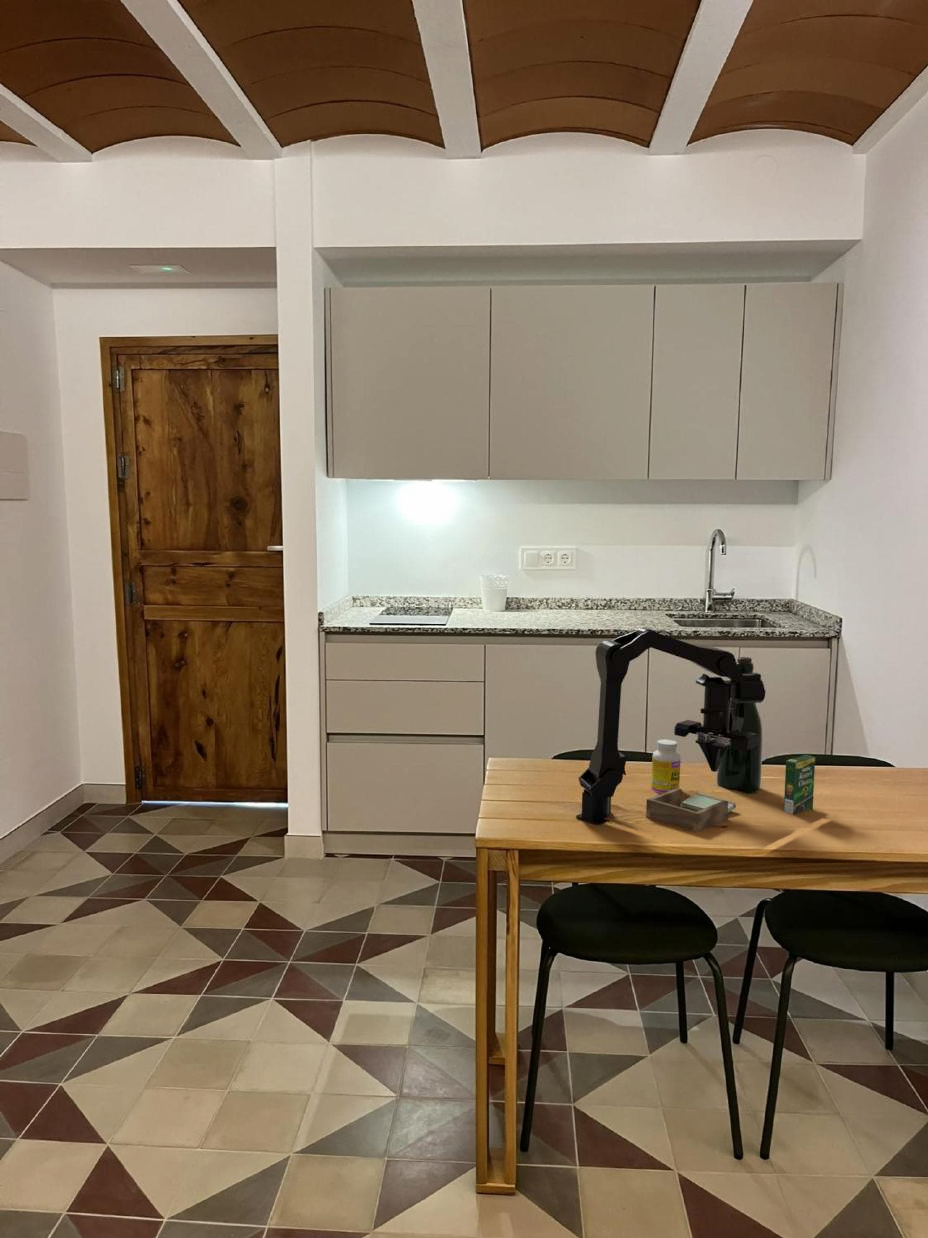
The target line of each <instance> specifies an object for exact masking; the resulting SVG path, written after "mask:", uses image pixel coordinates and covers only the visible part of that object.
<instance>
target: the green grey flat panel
mask: <svg viewBox="0 0 928 1238" xmlns="http://www.w3.org/2000/svg"><path fill="white" fill-rule="evenodd" d="M722 801H726V800H725V799H721V798H718V797H715V796H710V795H707V794H702V793H699V792H695V793H694V794H692V795H690V796H689V797H687V798H686V799H684V800H683V801H681V807H682V808H685V809H689V810H692V811H696V812H697V811H699V810H702V809H704V808H707V807H709V806H712V805H714V804H717V803H719V802H722ZM727 801H728V800H727ZM736 808H737V804H736V802H732V801H728V814H729V813H730V812H732V811H733V810H735V809H736Z"/></svg>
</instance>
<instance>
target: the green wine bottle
mask: <svg viewBox="0 0 928 1238" xmlns="http://www.w3.org/2000/svg"><path fill="white" fill-rule="evenodd" d="M752 659H753V658H751V657H748V656H739V657H737V659H736V665H737V667H738V668H739V670H740V671H741V673H742V674H750V673H754V668H755V667H754V663H753V662H752V661H753V660H752ZM730 708H733V711H734V713H733V714H734V715H735V716H738V717H741V718H743V719H744V720H743V724H742V729H741V731H746V732H751V733H755V734H757V735H758V737H759V746H758V747H755V748H752V749H749V750H742V749H737V748H733V747H732V746H731V747H729V748H728V749H727V750H726V752H725V754H724V756H723V758H722V760H721V763H720V765H719V768H718V770H717V771H716V773H717V774H716V785H717V787H719V788H723V789H726V790H729V791H736V792H739V793H743V794H747V795H748V794H749V795H750V794H755V793H757V792H758V791H760V790H761V785H762V768H763V767H762V763H763V725H762V718H761V716H760V714H759V713H760V712H759V710H758V707H757V703H739V704H737V703H735V702H734V701H733V699H731V698H730ZM729 733H733V734H735V733H738V731H736V730H735V731H729ZM720 736H723V735H720Z"/></svg>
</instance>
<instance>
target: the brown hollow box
mask: <svg viewBox="0 0 928 1238" xmlns="http://www.w3.org/2000/svg"><path fill="white" fill-rule="evenodd" d="M645 810H646V811H645V817H646V818H648V819H651V820H655V821H658V822H662V823H665V824H669V825H671V826H675V827H678V828H681V829H684V830H687V831H692V832H694V833H699V832H702V831H704V830H706V829H708V828H712V827H714V826H715V825H717V824H720V823H722V822H725V821H726V820H728V815H729V813H728V800H725V801H722V802H719V803H717V804H714V805H712V806H709V807H707V808H704V809H702V810H699V811H697V810H693V809H690V808H686V807H683V806H682V788H680V787H679V788H676V789H674V790H671V791H668V792H665V793H660V794H658V795H655V796H652V797H648V798H646V806H645Z"/></svg>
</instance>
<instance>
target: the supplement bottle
mask: <svg viewBox="0 0 928 1238" xmlns="http://www.w3.org/2000/svg"><path fill="white" fill-rule="evenodd" d="M656 746H657V750H655V751H654V752H653V753H652V762H651V784H650V789H651V791H653V792H655V793H658V794H659V793H660V794H663V793H665V792H668V791H671V790H674V789H676V788H679V789H680V776H681V754H680V753H679V752H678V751H676V750H677V748H678V742H677V741H675V740H671V739H659V740H657V742H656Z"/></svg>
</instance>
